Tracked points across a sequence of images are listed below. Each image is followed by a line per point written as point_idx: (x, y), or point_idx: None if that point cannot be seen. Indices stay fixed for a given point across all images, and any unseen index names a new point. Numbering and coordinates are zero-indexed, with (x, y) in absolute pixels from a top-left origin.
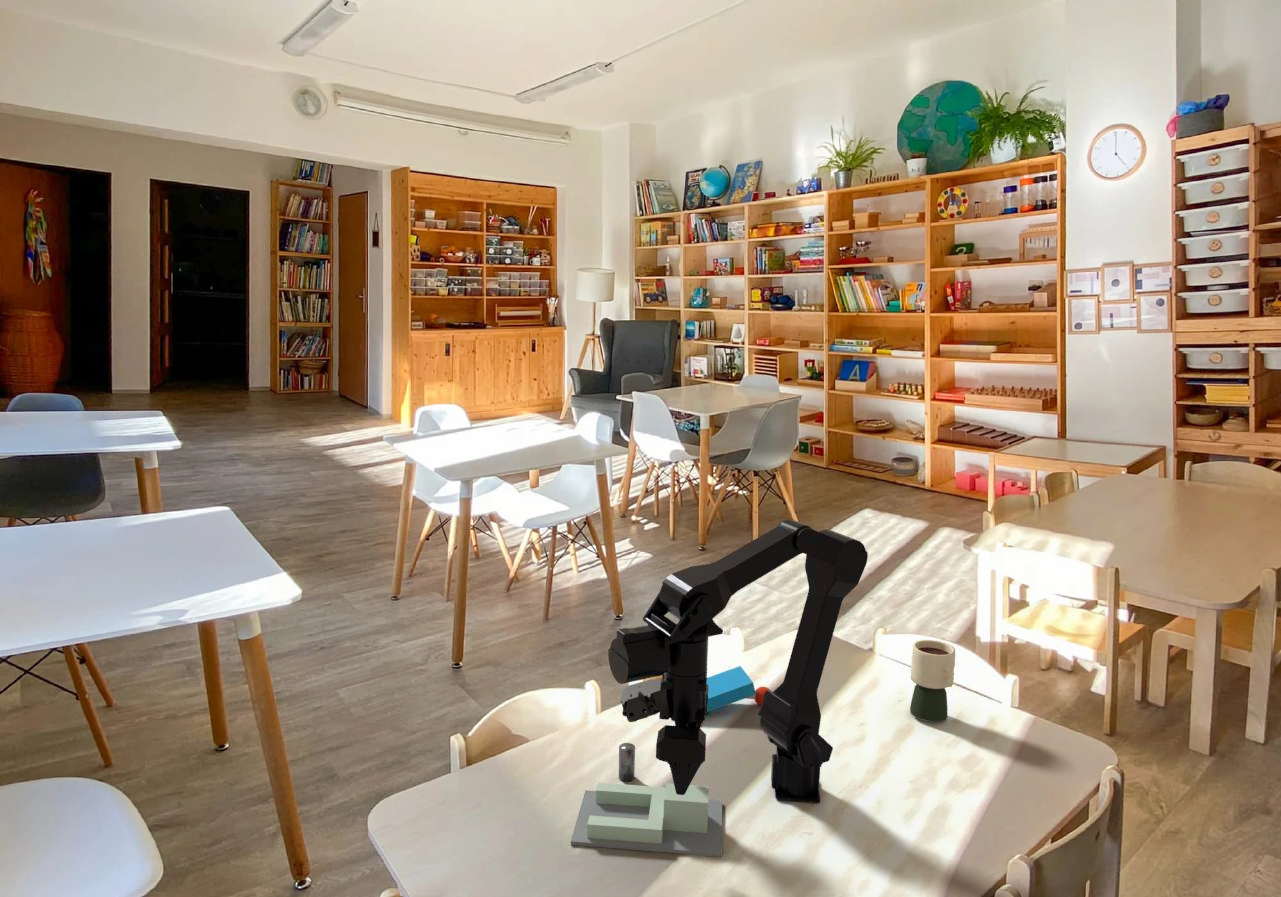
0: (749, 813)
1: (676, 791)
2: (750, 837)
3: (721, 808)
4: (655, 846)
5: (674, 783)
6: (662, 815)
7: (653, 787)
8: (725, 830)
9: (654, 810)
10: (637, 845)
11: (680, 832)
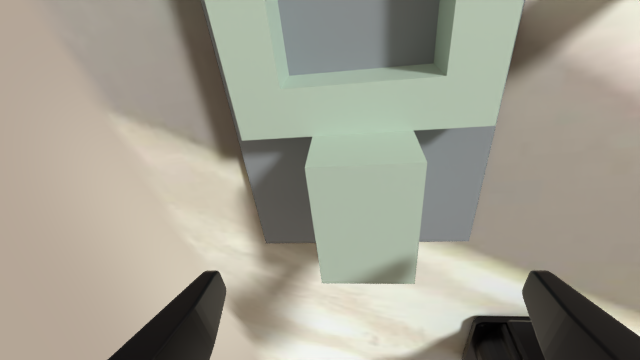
0: (427, 277)
1: (193, 283)
2: None
3: (433, 240)
4: None
5: (151, 321)
6: (318, 132)
7: (499, 74)
8: None
9: (339, 103)
10: None
11: None
